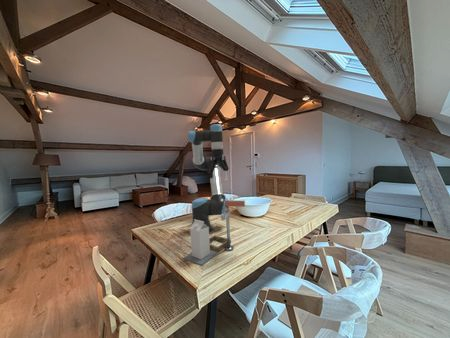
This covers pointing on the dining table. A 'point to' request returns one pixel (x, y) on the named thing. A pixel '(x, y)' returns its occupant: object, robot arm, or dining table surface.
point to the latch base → (229, 248)
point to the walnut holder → (222, 246)
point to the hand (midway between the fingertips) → (219, 181)
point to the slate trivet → (200, 261)
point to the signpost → (227, 213)
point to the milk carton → (199, 239)
